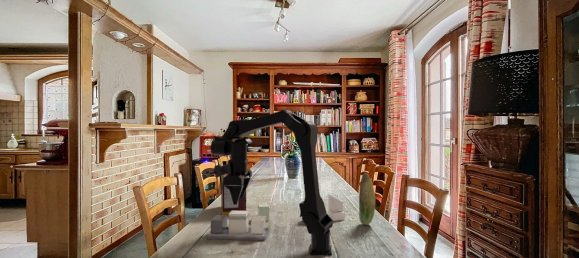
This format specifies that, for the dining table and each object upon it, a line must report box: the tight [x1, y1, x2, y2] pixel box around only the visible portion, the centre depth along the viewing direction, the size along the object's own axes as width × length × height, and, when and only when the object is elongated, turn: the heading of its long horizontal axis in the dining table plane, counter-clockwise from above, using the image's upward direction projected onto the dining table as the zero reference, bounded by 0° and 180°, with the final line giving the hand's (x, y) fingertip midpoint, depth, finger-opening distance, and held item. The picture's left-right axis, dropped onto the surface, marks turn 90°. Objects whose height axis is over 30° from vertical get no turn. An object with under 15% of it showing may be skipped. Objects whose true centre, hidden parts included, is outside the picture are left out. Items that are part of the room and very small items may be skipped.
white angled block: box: [327, 194, 346, 222], centre depth 120 cm, size 4×10×9 cm, turn 106°
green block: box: [257, 202, 270, 222], centre depth 119 cm, size 5×4×6 cm
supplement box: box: [220, 174, 247, 216], centre depth 133 cm, size 10×15×16 cm
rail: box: [206, 214, 270, 241], centre depth 102 cm, size 8×20×6 cm, turn 86°
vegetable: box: [358, 173, 376, 226], centre depth 113 cm, size 6×6×20 cm
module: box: [228, 210, 250, 234], centre depth 102 cm, size 4×6×7 cm
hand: (238, 201), depth 102 cm, fingers open, 9 cm apart
